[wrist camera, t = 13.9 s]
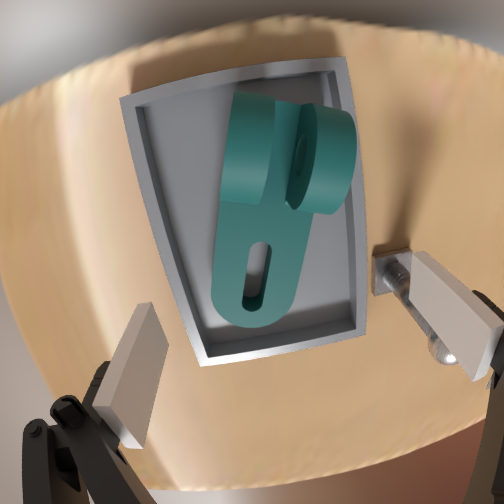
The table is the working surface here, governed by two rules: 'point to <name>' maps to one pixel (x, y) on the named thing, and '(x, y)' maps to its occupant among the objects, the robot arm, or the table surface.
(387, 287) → the ball stud
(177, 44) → the table surface
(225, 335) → the bin
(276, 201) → the bracket
